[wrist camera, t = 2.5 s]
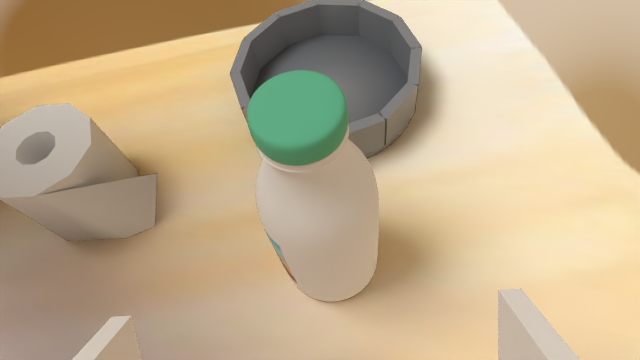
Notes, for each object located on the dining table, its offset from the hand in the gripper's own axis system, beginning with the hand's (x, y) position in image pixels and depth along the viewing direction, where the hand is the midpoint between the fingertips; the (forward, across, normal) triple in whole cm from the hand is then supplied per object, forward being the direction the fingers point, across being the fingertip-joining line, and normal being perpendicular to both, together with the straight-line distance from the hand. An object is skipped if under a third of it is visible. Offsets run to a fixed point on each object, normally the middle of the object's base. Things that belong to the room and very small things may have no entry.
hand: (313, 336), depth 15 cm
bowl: (+33, 0, +6) cm, 33 cm away
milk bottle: (+20, 0, -6) cm, 21 cm away
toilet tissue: (+25, -22, -1) cm, 34 cm away
